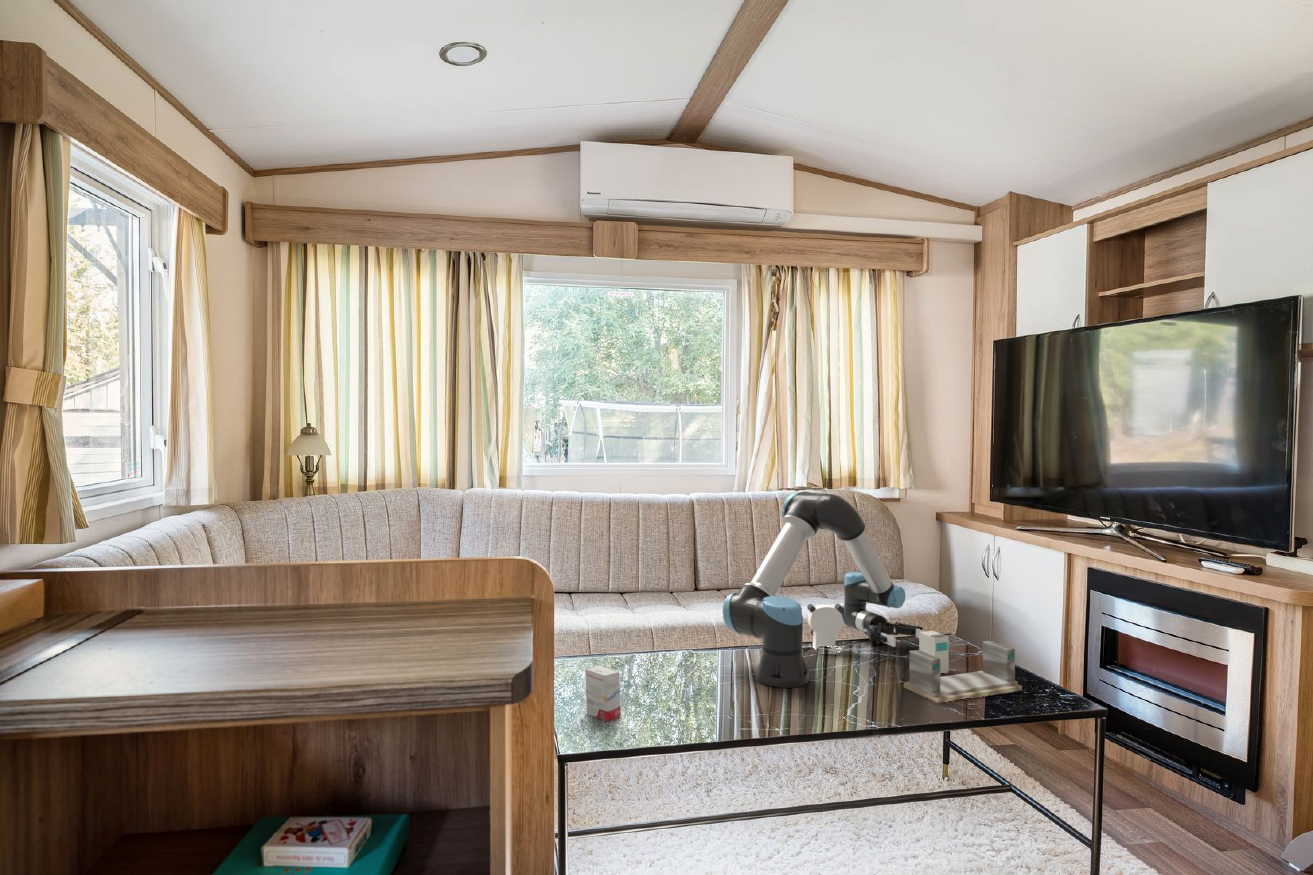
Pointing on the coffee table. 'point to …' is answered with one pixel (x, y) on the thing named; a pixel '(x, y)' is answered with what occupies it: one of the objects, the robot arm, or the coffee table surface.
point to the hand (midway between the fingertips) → (912, 640)
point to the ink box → (603, 693)
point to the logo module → (935, 647)
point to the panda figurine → (825, 624)
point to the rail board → (964, 676)
